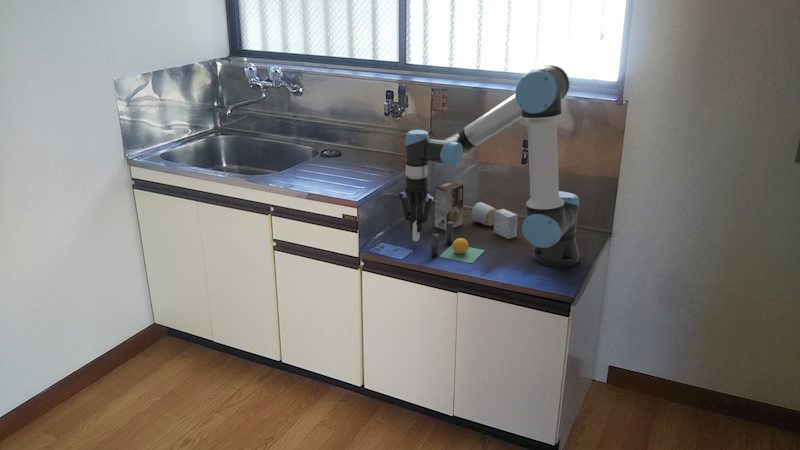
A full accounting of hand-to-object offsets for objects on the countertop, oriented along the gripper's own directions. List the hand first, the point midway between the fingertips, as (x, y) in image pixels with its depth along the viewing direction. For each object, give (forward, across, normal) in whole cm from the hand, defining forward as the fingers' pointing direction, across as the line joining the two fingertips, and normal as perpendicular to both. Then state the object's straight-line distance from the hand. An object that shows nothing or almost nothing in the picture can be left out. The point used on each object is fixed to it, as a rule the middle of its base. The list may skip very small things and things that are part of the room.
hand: (416, 239), depth 240 cm
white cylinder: (+2, -15, -32) cm, 35 cm away
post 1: (+2, -10, +6) cm, 12 cm away
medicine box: (+2, -25, -23) cm, 34 cm away
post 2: (+2, -10, -6) cm, 12 cm away
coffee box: (+2, -3, -22) cm, 22 cm away
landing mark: (+2, -18, 0) cm, 18 cm away
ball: (-1, -17, 0) cm, 17 cm away
